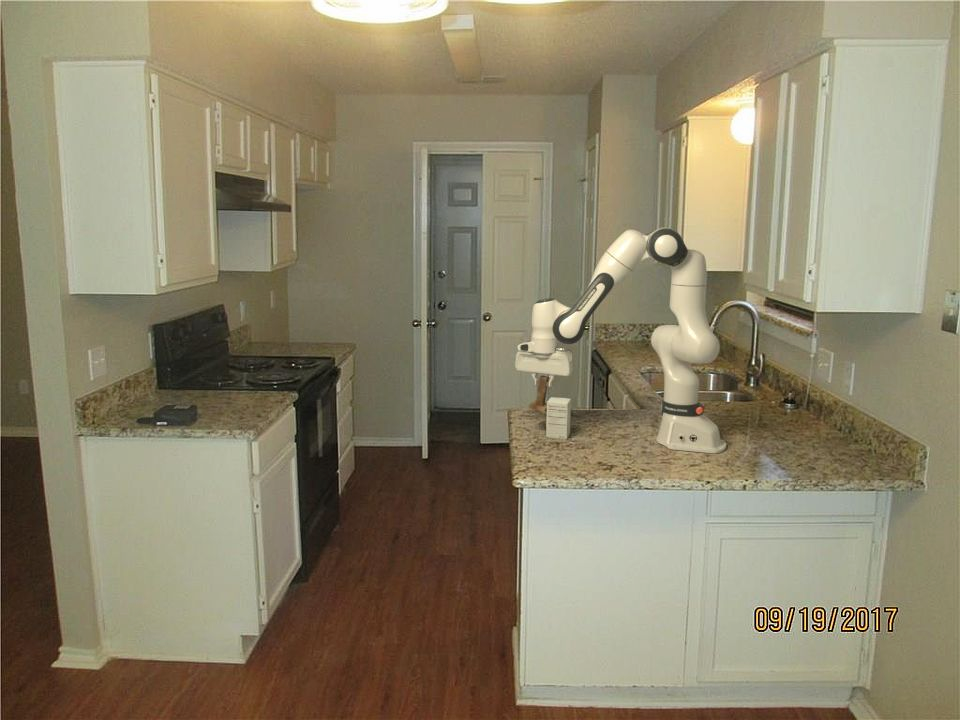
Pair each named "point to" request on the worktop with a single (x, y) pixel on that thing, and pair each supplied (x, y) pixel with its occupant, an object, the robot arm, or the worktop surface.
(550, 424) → the supplement box
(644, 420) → the worktop surface
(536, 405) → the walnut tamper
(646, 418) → the worktop surface
